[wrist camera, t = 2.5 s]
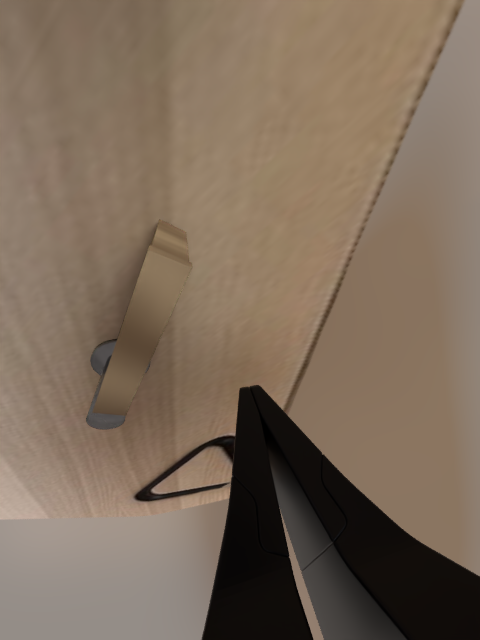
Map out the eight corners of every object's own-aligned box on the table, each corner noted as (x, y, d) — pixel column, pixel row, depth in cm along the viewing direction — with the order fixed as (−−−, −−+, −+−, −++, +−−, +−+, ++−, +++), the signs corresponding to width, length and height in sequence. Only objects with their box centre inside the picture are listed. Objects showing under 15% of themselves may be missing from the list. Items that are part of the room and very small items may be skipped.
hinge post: (113, 330, 17) (91, 388, 13) (161, 355, 20) (156, 412, 15) (80, 363, 18) (50, 427, 14) (129, 383, 21) (117, 443, 16)
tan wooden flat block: (138, 351, 18) (125, 415, 14) (114, 346, 18) (92, 412, 13) (187, 231, 14) (192, 268, 9) (157, 217, 13) (147, 249, 9)
